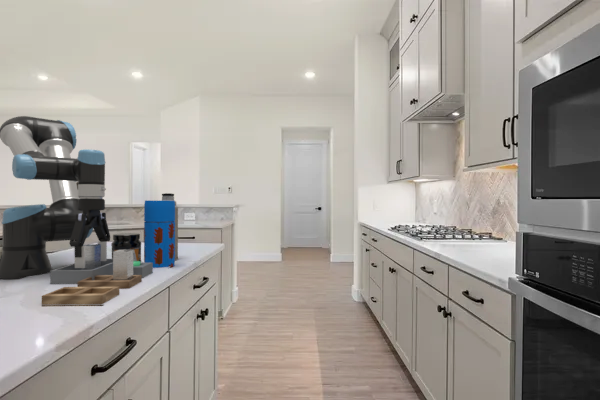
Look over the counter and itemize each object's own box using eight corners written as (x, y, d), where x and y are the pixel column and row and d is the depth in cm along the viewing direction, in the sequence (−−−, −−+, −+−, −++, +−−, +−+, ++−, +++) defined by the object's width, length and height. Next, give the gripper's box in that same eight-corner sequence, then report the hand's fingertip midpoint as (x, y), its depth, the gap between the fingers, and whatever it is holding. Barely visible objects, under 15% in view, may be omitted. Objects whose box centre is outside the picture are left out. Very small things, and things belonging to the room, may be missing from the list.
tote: (50, 286, 107) (50, 270, 107) (90, 271, 129) (90, 258, 129) (92, 285, 108) (92, 270, 108) (125, 271, 130) (125, 258, 130)
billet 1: (81, 277, 116) (81, 245, 116) (88, 274, 120) (88, 243, 120) (94, 277, 117) (94, 245, 117) (100, 274, 121) (100, 243, 121)
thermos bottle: (163, 258, 159) (163, 193, 159) (180, 258, 159) (181, 193, 159) (154, 261, 151) (154, 193, 151) (172, 261, 151) (173, 193, 151)
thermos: (180, 265, 142) (181, 200, 142) (161, 270, 132) (162, 200, 132) (157, 263, 146) (158, 200, 146) (137, 268, 136) (137, 200, 136)
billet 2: (113, 286, 105) (113, 251, 105) (119, 283, 109) (119, 249, 109) (127, 286, 105) (127, 250, 105) (133, 283, 109) (133, 249, 109)
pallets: (41, 306, 87) (41, 295, 87) (94, 283, 111) (94, 275, 111) (102, 306, 87) (102, 295, 87) (141, 283, 111) (141, 275, 111)
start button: (124, 272, 118) (124, 262, 118) (130, 270, 122) (130, 260, 122) (137, 272, 118) (137, 262, 118) (142, 269, 122) (142, 260, 122)
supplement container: (133, 267, 137) (133, 235, 137) (105, 267, 137) (105, 235, 137) (146, 262, 148) (146, 233, 148) (120, 262, 148) (120, 232, 148)
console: (113, 280, 115) (113, 267, 115) (125, 274, 124) (125, 262, 124) (142, 280, 116) (142, 267, 116) (152, 274, 125) (152, 262, 125)
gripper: (82, 197, 106) (82, 271, 106) (120, 198, 131) (120, 258, 131) (55, 197, 106) (55, 271, 106) (99, 198, 131) (99, 258, 131)
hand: (91, 264), depth 118 cm, fingers open, 13 cm apart
